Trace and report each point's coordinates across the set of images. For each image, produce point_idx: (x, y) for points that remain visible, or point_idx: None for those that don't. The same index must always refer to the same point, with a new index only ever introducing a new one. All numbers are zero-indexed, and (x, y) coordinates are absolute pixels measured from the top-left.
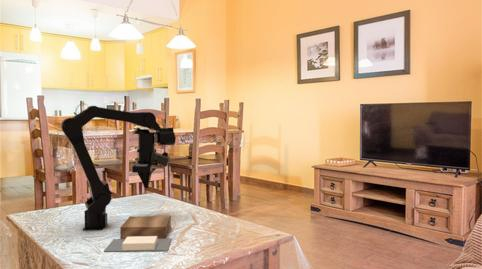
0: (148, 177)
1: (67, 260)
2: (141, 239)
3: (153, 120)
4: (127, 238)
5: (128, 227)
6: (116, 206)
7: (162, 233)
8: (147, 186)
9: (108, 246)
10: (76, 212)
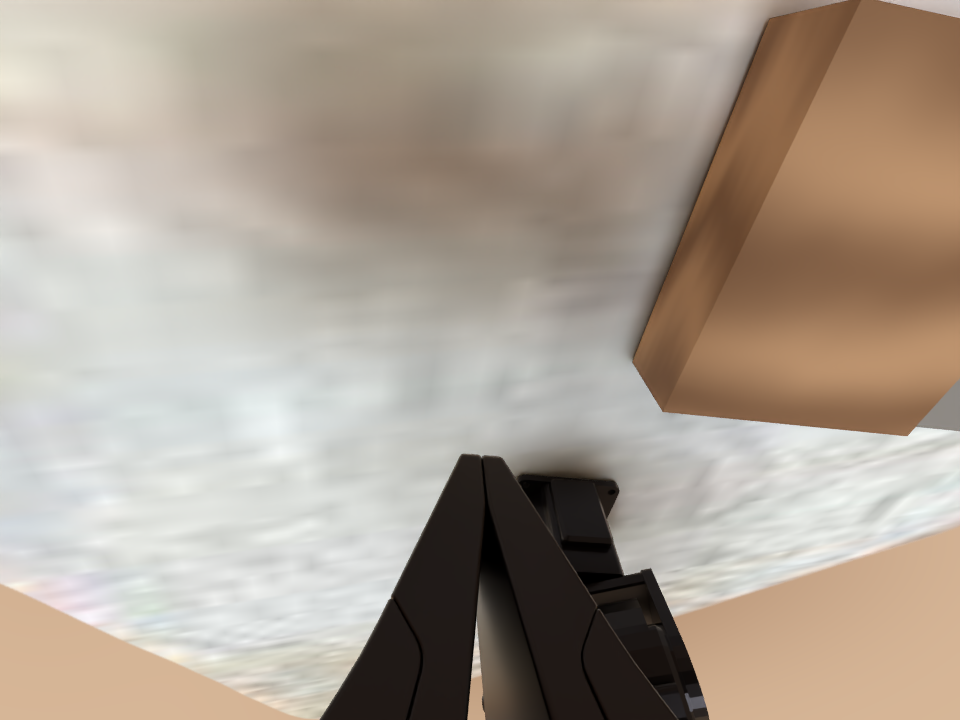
0: (655, 711)
1: (948, 518)
2: None
3: None
4: None
5: (943, 391)
6: (78, 487)
7: None
8: (512, 488)
9: (929, 423)
10: (263, 608)
